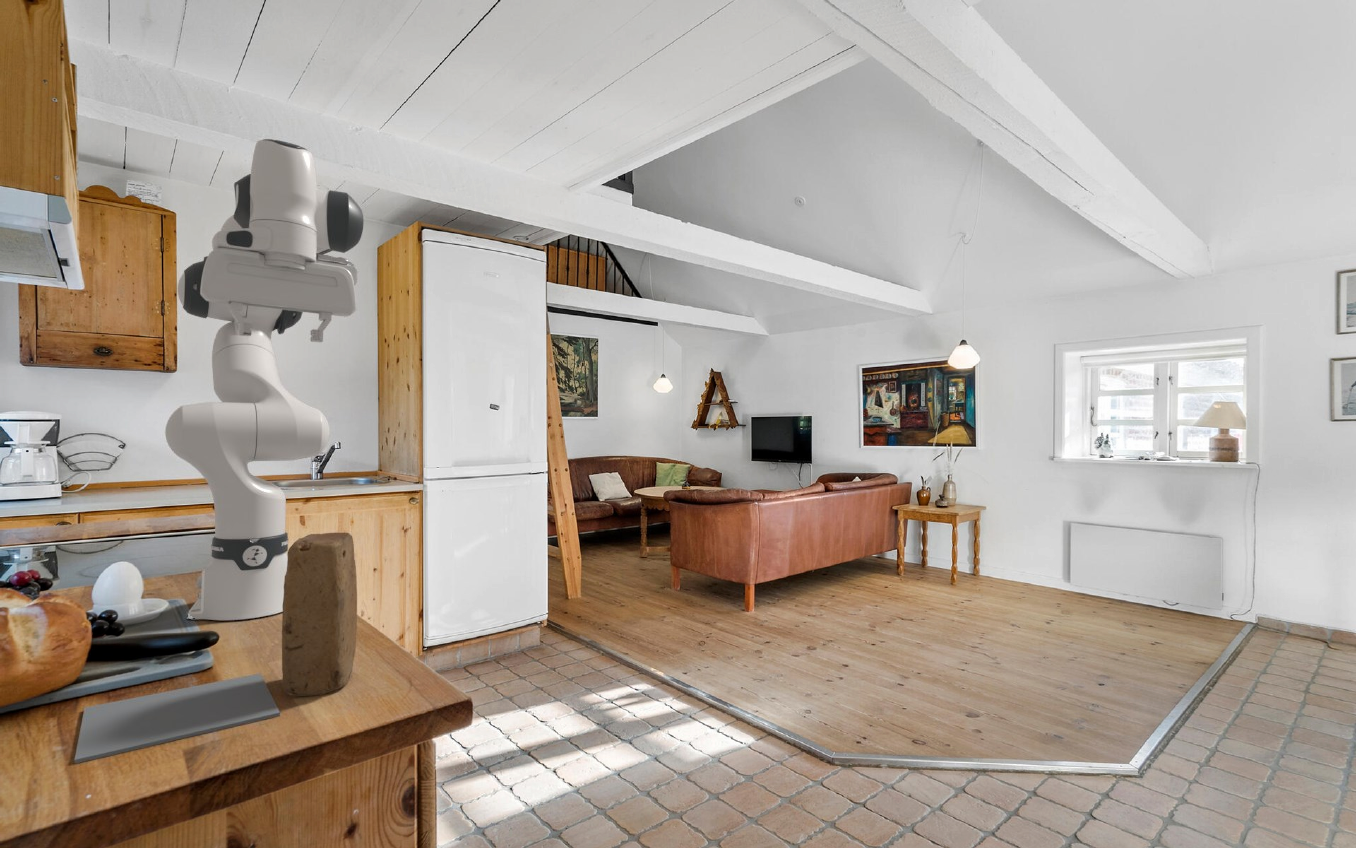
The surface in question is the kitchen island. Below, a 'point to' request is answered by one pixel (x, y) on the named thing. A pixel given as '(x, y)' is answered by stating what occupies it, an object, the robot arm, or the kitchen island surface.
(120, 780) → the kitchen island surface
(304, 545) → the block
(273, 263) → the robot arm
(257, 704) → the mat
